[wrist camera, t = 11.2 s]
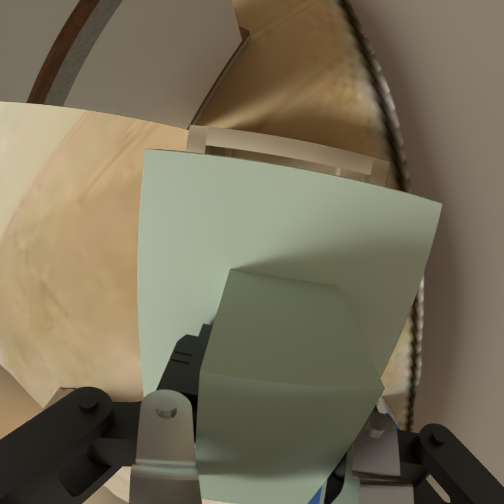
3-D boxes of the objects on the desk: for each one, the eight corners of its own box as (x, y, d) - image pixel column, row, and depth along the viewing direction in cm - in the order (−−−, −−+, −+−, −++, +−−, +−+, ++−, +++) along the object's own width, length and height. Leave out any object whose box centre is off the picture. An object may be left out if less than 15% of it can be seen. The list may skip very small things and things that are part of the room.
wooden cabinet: (304, 354, 33) (312, 411, 25) (192, 337, 33) (171, 390, 25) (353, 157, 26) (390, 161, 18) (214, 133, 26) (190, 124, 18)
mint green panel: (335, 434, 14) (351, 528, 8) (153, 411, 14) (119, 504, 8) (426, 198, 10) (545, 248, 4) (157, 149, 10) (40, 154, 4)
